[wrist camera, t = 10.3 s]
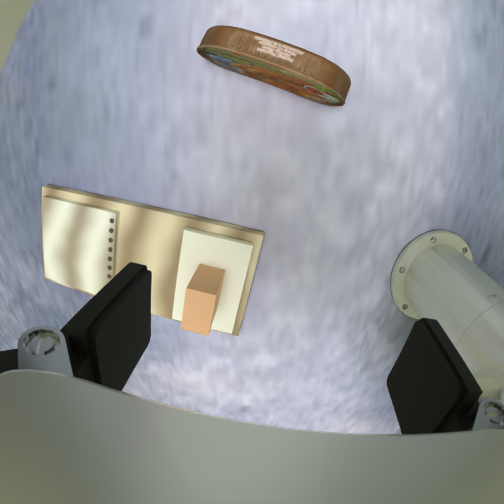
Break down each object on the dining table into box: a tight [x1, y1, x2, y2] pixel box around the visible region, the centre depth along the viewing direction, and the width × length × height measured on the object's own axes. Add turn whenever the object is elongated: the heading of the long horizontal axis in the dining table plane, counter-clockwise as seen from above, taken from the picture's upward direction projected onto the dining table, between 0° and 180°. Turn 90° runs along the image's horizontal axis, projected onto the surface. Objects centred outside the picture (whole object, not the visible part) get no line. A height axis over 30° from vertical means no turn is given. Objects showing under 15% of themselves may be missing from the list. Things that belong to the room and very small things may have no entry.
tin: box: [197, 26, 351, 106], centre depth 26 cm, size 15×3×8 cm, turn 69°
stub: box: [172, 227, 254, 336], centre depth 35 cm, size 8×12×7 cm, turn 167°
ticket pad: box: [42, 185, 264, 336], centre depth 38 cm, size 30×14×3 cm, turn 77°
